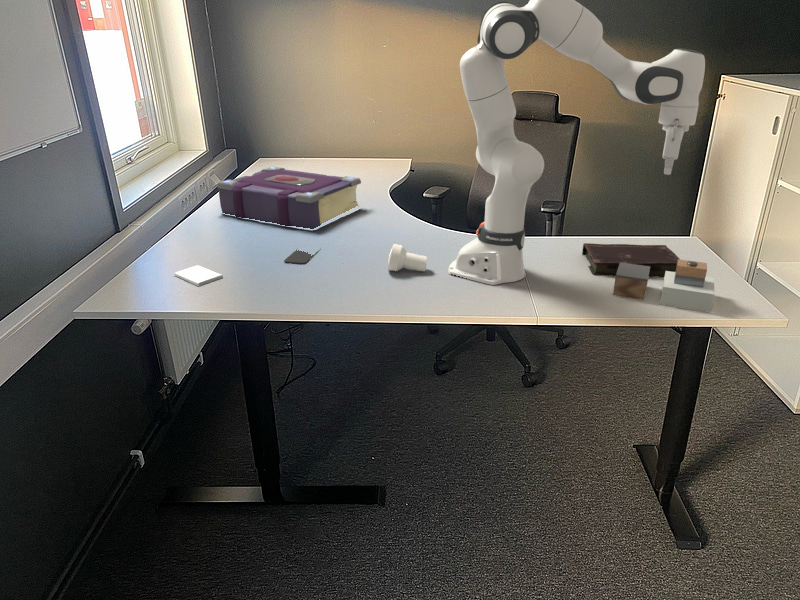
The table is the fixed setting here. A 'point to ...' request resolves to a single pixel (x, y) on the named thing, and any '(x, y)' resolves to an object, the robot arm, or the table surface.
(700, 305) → the grey stand
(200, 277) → the external hard drive
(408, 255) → the spotlight
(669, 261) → the diary
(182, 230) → the table surface
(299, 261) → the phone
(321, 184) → the book
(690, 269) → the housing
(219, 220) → the table surface
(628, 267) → the walnut stand
